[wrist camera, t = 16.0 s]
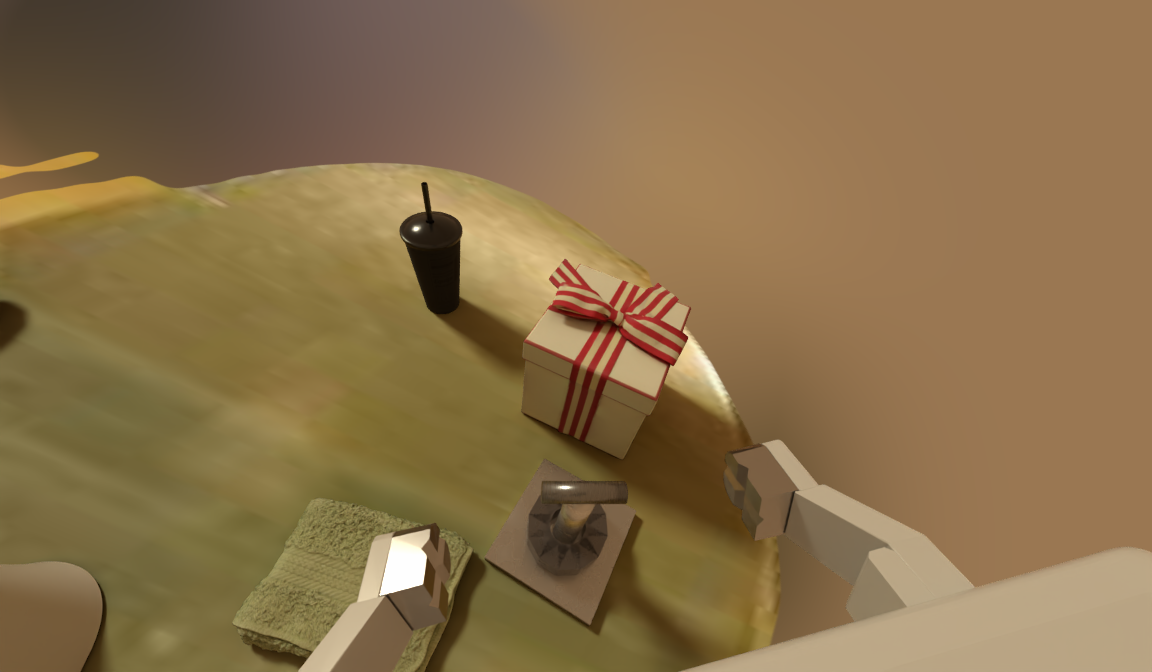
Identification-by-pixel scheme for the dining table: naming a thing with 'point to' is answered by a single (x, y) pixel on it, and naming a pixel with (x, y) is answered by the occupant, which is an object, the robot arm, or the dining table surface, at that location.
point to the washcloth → (333, 582)
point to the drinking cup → (434, 255)
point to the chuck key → (579, 503)
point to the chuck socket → (561, 548)
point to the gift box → (601, 356)
